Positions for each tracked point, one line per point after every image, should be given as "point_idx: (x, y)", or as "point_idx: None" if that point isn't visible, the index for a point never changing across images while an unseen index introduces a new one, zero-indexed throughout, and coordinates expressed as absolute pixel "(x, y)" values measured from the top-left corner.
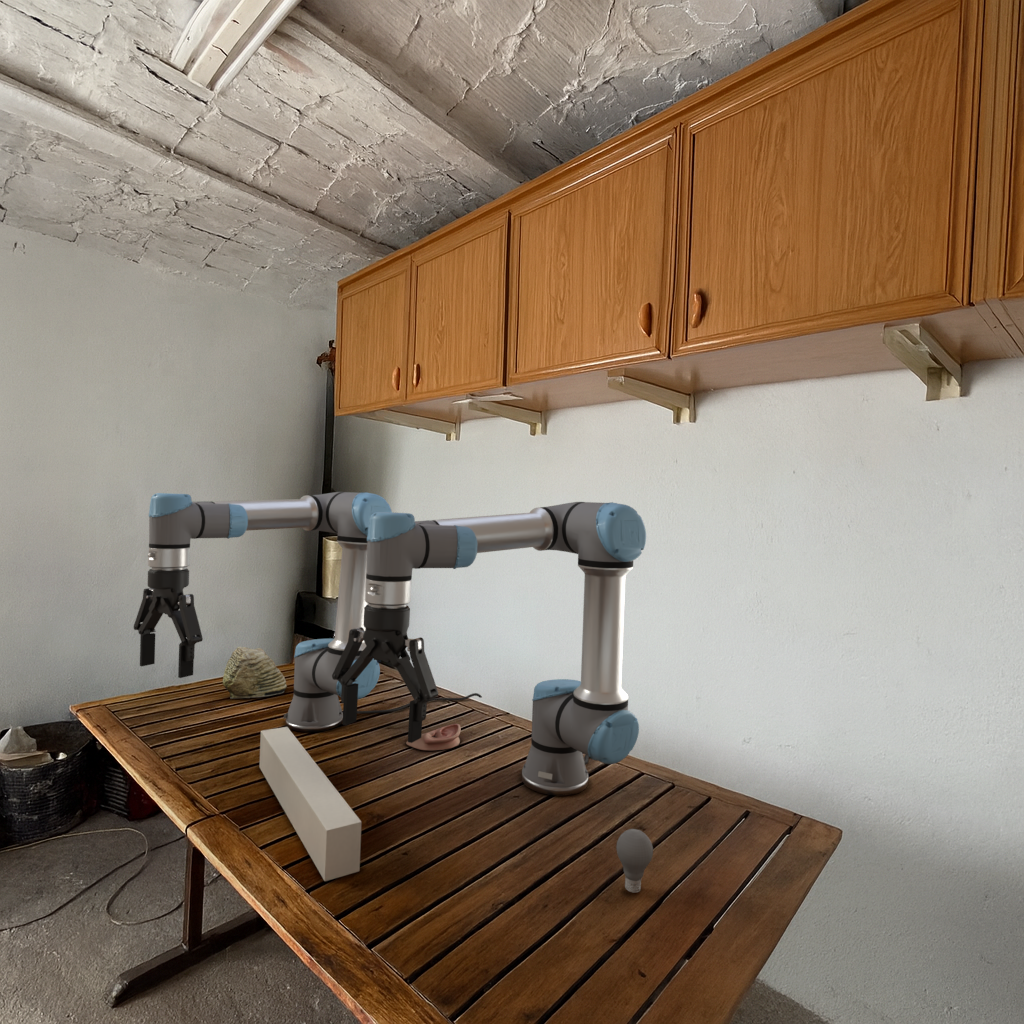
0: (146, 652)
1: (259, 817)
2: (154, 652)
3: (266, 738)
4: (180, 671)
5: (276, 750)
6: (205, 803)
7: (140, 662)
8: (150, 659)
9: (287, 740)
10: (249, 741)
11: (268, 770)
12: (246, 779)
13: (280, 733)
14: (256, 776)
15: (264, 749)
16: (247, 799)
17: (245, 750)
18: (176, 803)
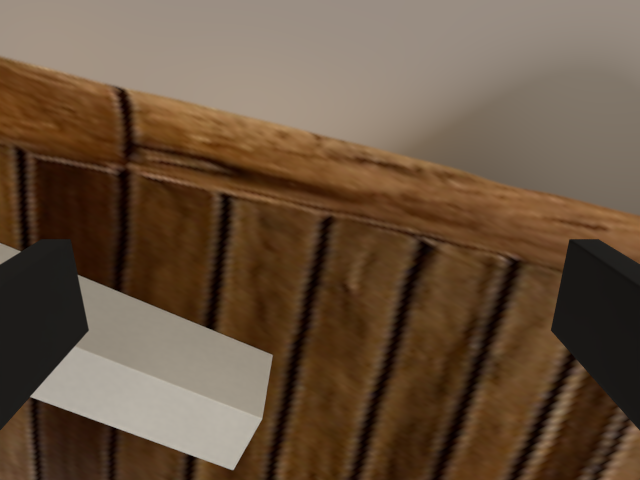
0: (630, 327)
1: (43, 207)
2: (604, 385)
3: (197, 395)
4: (11, 259)
5: (97, 361)
6: (198, 178)
7: (606, 250)
8: (578, 323)
9: (141, 415)
10: (420, 425)
11: (176, 334)
12: (239, 303)
13: (201, 434)
14: (236, 324)
15: (217, 375)
16: (144, 244)
17: (383, 391)
18: (251, 138)
